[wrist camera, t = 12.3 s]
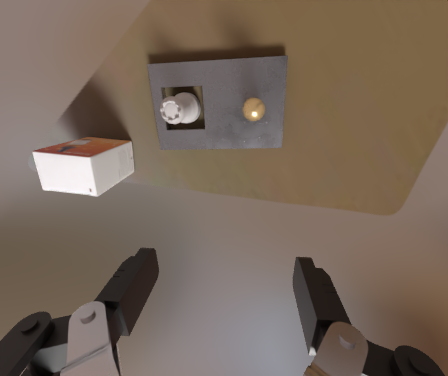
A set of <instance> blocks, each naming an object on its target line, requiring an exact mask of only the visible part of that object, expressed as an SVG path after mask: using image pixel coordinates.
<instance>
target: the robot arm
mask: <svg viewBox="0 0 448 376" xmlns="http://www.w3.org/2000/svg"><path fill="white" fill-rule="evenodd" d="M158 274H159V267H158V261H157V255H156V250H155V249H154V248H140V249H139V251H138V252H137V254H136V255H135V256H131V257H129V258H128V259H127V260H125V261H124V262H123V263H122V264H121V266H120V267H119V268H118V270H117V271H116V272H115V274H114V275H113V277H112V278H111V279H110V280H109V282H108V283H107V285H106V286H105V287H104V288H103V290H102V291H101V292H100V294H99V295H98V296H97V298H96V299H95V300H94V301H93V302H89V303H87V304H85V305H83V306H81V307H80V308H78V309H77V310H76V311H75V312H74V313H73V315H69V316H65V317H60V318H55V319H52V318H51V316H50V314H49V313H47V312H37V313H34V314H31V315H29V316H27V317H26V318H24V319H22V320H21V321H20V322H18V323H17V324H16V325H15V326H14V327H13V328H12V329H11V330H10V332H9V333H8V334H7V335H6V336H5V337H4V338H3V339H2V340H1V341H0V376H19V375H20V374H21V373H22V371H23V370H24V369H25V368H26V367H27V368H26V370H25V371H24V372H23V374H22V375H21V376H122V371H121V364H120V357H119V351H118V345H117V342H118V340H119V338H120V336H121V335H122V336H130V333H131V332H132V329H133V327H134V325H135V323H136V321H137V319H138V317H139V315H140V313H141V311H142V309H143V307H144V305H145V303H146V301H147V299H148V297H149V295H150V293H151V291H152V289H153V287H154V285H155V283H156V280H157V278H158ZM293 289H294V294H295V298H296V302H297V307H298V311H299V315H300V320H301V324H302V328H303V332H304V337H305V341H306V345H307V349H308V354H309V355H314V356H315V357H314V360H313V361H312V363H311V365H310V366H308V367H307V369H306V371H305V372H304V375H303V376H445V375H444V374H443V372H442V371H441V369H440V368H439V366H438V365H437V364H436V363H435V362H434V361H433V360H432V359H431V358H430V357H429V356H427V355H426V354H425V353H423V352H421V351H420V350H418V349H416V348H413V347H411V346H399V347H397V348H396V349H395V351H392V350H389V349H387V348H384V347H381V346H379V345H376V344H374V343H372V342H369V341H368V340H366V339H365V337H364V336H363V335H362V334H361V332H360V331H359V330H358V329H356V328H355V327H353V326H352V324H351V323H350V320H349V318H348V316H347V314H346V311H345V309H344V307H343V305H342V303H341V301H340V298H339V296H338V294H337V292H336V289H335V287H334V286H333V283H332V281H331V278H330V276H329V275H328V274H327V273H326V272H325V271H324V270H323V269H322V268H315V266H314V263H313V261H312V258H308V257H296V261H295V267H294V274H293Z"/></svg>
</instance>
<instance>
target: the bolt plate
mask: <svg viewBox="0 0 448 376" xmlns="http://www.w3.org/2000/svg"><path fill="white" fill-rule="evenodd" d="M287 58H288V56H274V57H257V58H241V59H224V60H208V61H192V62H175V63H159V64H147V66H148V72H149V79H150V85H151V92H152V98H153V104H154V111H155V117H156V124H157V130H158V136H159V143H160V149H161V150H176V149H232V148H282V134H283V119H284V104H285V88H286V73H287ZM193 86H202V91H203V105H204V119H205V128H188V129H170V124H169V123H168V122H166V121H165V120H164V119H163V117H162V116H161V113H160V105H161V102H162V101H163V100H164V99H165V98H166V95H165V88H173V87H193Z"/></svg>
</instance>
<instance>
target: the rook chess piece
mask: <svg viewBox="0 0 448 376" xmlns="http://www.w3.org/2000/svg"><path fill="white" fill-rule="evenodd" d="M200 110H201V106H200V103H199V100H198V99H197V98H196V96H195V95H193V94H191V93H188V92H182V93H179V94H177V95H176V96H175V97H173V96H169V97H166V98H165V99H164V100H163V101H162V102H161V105H160V113H161V116H162V117H163V119H164V120H165V121H166V122H168V123H170V124H177V123H180V122H181V123H191V122H194V121H195V120H196V119H197V118H198V117H199V115H200Z"/></svg>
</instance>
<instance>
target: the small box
mask: <svg viewBox="0 0 448 376" xmlns="http://www.w3.org/2000/svg"><path fill="white" fill-rule="evenodd" d="M33 156H34V160H35V164H36V167H37V171H38V174H39V178H40V181H41V185H42V188H43V190H49V191H60V192H68V193H77V194H85V195H91V196H99V195H100V194H102V193H103V192H105V191H106V190H108V189H109V188H111V187H112V186H114V185H115V184H117V183H118V182H120V181H121V180H123V179H124V178H126V177H127V176H129V175H130V174H132V173H133V172H134V171H135V170H134V160H133V150H132V141H126V140H114V139H105V138H95V137H86V138H82V139H78V140H74V141H70V142H66V143H62V144H58V145H54V146H50V147H46V148H42V149H38V150H34V151H33Z"/></svg>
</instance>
